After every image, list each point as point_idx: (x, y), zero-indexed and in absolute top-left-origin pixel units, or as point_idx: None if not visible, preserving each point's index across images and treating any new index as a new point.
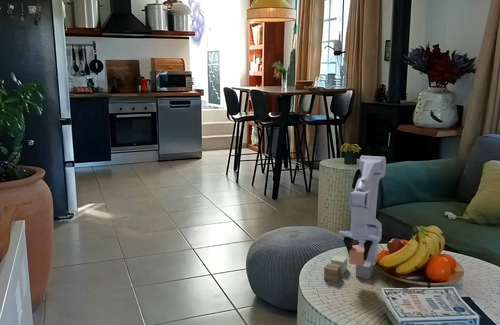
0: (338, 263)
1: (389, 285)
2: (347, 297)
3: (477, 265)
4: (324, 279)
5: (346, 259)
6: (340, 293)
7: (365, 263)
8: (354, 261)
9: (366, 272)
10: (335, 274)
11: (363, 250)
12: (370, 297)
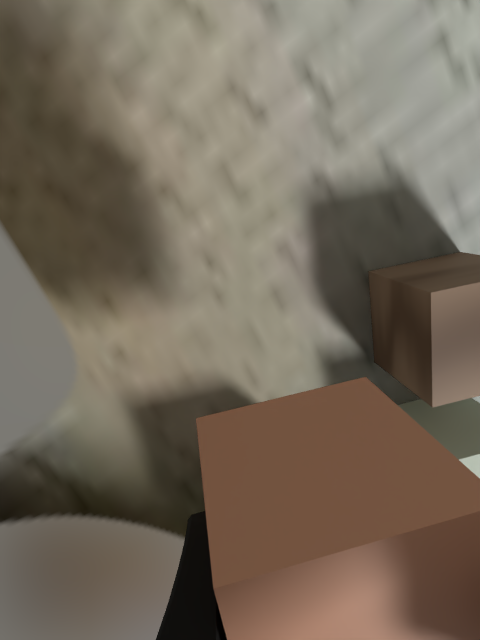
0: (459, 443)
1: (37, 466)
2: (192, 85)
3: None
4: (458, 253)
5: None
6: (271, 118)
7: None
8: (315, 412)
9: None
10: (415, 281)
11: None
12: (40, 208)
